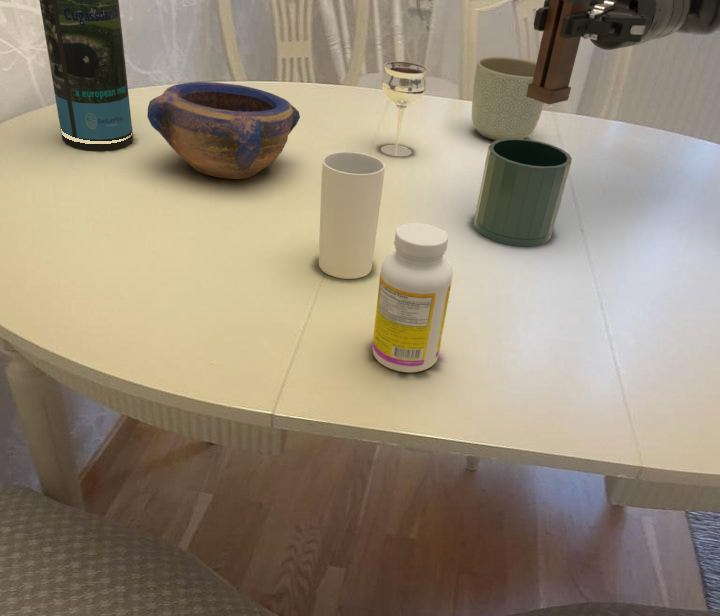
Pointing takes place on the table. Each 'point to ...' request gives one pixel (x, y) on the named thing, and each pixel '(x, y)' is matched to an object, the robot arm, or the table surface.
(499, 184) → the crock
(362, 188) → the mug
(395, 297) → the supplement bottle
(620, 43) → the robot arm
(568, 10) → the tongs
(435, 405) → the table surface
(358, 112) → the table surface
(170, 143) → the bowl
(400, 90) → the wineglass
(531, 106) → the planter
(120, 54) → the advertising column
